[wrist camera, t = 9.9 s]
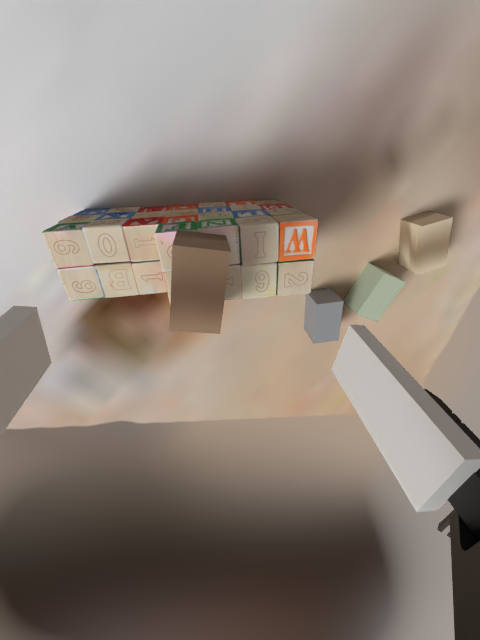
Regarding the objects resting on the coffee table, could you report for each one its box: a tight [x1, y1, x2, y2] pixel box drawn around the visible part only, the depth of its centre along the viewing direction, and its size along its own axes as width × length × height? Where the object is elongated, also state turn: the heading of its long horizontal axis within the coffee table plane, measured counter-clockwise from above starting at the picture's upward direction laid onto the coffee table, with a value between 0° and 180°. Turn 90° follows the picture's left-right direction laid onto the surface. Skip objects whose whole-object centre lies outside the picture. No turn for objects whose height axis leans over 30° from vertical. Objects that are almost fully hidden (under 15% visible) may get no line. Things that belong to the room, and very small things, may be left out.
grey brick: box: [304, 288, 344, 344], centre depth 38 cm, size 6×4×4 cm, turn 4°
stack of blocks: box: [42, 200, 318, 304], centre depth 26 cm, size 21×6×12 cm, turn 92°
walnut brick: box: [170, 230, 231, 334], centre depth 20 cm, size 6×4×4 cm, turn 171°
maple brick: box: [398, 211, 453, 275], centre depth 34 cm, size 6×4×4 cm, turn 15°
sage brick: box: [344, 263, 406, 321], centre depth 37 cm, size 6×4×4 cm, turn 157°
